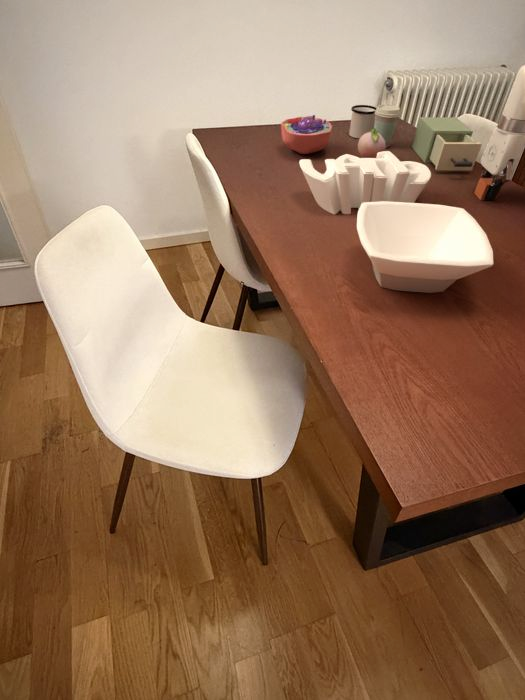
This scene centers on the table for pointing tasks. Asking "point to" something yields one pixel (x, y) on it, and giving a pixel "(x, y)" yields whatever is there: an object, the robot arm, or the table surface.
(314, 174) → the white wavy slab sculpture
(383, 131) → the coffee cup
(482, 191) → the block
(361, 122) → the mug
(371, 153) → the decorative fruit
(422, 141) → the cabinet
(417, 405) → the table surface
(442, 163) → the drawer
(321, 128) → the cell model
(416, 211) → the bowl
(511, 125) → the robot arm
